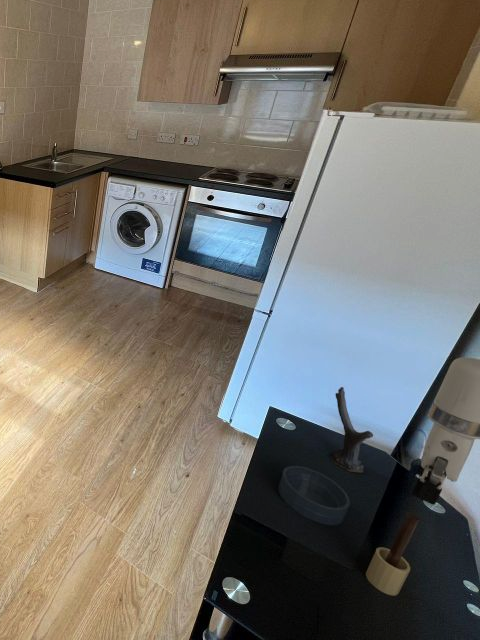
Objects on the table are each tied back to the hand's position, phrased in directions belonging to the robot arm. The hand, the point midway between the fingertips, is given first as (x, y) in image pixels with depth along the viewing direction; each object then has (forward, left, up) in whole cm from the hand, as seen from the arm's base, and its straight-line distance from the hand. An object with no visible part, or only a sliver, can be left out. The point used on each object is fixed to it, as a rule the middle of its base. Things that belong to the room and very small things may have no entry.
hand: (425, 486), depth 84 cm
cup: (0, 0, -29) cm, 29 cm away
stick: (0, 0, -28) cm, 28 cm away
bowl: (+2, -21, -29) cm, 35 cm away
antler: (-18, -39, -29) cm, 52 cm away
